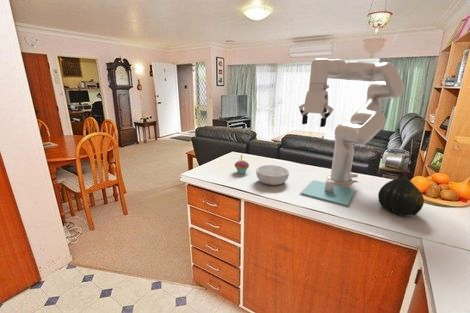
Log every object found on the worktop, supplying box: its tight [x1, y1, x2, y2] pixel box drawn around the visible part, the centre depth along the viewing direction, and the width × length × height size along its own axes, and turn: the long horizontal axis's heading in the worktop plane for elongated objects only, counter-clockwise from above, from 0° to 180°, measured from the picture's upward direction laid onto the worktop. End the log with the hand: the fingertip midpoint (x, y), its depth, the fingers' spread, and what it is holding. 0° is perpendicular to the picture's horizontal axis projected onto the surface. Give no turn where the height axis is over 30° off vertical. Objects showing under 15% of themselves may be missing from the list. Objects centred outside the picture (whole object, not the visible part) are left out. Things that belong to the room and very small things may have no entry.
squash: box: [377, 176, 425, 217], centre depth 95 cm, size 14×15×15 cm
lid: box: [300, 179, 356, 207], centre depth 111 cm, size 20×20×6 cm
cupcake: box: [234, 153, 250, 175], centre depth 137 cm, size 9×8×12 cm
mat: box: [298, 180, 358, 209], centre depth 112 cm, size 22×22×1 cm
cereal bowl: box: [255, 164, 290, 186], centre depth 123 cm, size 17×17×7 cm
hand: (313, 125), depth 111 cm, fingers open, 9 cm apart
